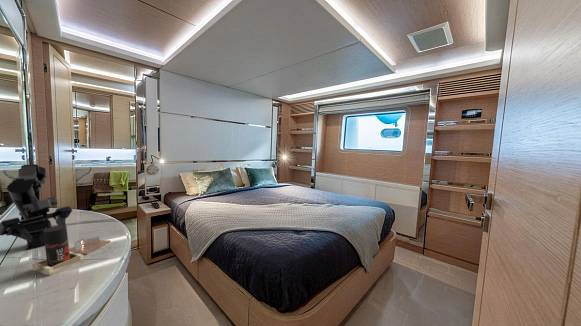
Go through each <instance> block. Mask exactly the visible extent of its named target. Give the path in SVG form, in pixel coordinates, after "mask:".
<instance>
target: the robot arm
mask: <svg viewBox="0 0 581 326" xmlns="http://www.w3.org/2000/svg"><path fill="white" fill-rule="evenodd" d="M47 173H48V172H47V169H46V168H45V167H42V166H40V165H39V164H36V163H35V164H34V163H31V164H23V165H22V164H21V167H20V168H18V177H14V178H12V181H11V182H9V184H8V185H7V186H6V190H7V192H8V194H9V195H10V198H11V201H12V202H13V204H14V205H15V207H16V208H17V210H18V211H19V213H18V215H19V217H20V218H19V217H13V218H9V219H5V220H4V219H3V220H1V221H0V236H7V237H8V236H13V237H17V238H19V239H22V240H25V241H26V245H25V250H31V249H35V248H39V247H43V246H44V247H45V242H44V233H43V231H44V230H45V229H47V228H50V227H53V226H52V222H51V220H50V219H54V220H55V223H56V226H61V225H65V226H66V227H67V225H66V219H68V218H69V217H70V215H71V214H72V211H73V209H72V207H71V206H69V205H66V206H62V207H57V208H56V209H55V211H54V212H50V209H51V208H54V207H53V206H57V205H58V201H57V199H56V198H55V197H54V196H52V197H48V198H47V199H43V200H42V195H41V191H42V189H41V188H42V187H43V185H45V183H46V178H48V174H47ZM49 212H50V213H49Z"/></svg>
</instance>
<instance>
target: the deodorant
mask: <svg viewBox="0 0 581 326" xmlns="http://www.w3.org/2000/svg"><path fill="white" fill-rule="evenodd" d="M43 233H44V242H45V245H44V249H45V256H46V258H45V259H47V266H49V267H53V266H55V265H57V264H60V263H62V262H65V261H67V260H69V259H70V254H69V249H70V247H69V237H68V227H67V225H66V226H65V225H61V226H58V225H55V226H52V227H50V228H47V229H45V230H44V231H43Z"/></svg>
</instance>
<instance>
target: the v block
mask: <svg viewBox="0 0 581 326" xmlns="http://www.w3.org/2000/svg"><path fill="white" fill-rule="evenodd" d="M110 243H111V240H109V239H108V240H107V239H106V240H105V239H100V235H95V236H92V237H85V238H80V239H78V240H75V241H74V244H73V245H74V246H73V247H70V248H69V251H70V252H74V253H78V254H82V255H89V254H91V253H94V252H95V251H96V250H98V249H100V248H102V247H105V246H106V245H109V244H110Z"/></svg>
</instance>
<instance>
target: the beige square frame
mask: <svg viewBox="0 0 581 326" xmlns="http://www.w3.org/2000/svg"><path fill="white" fill-rule="evenodd" d="M69 254H70V259H69V260H67V261H65V262H62V263H60V264H57V265H55V266H53V267H49V266H47V258H44V259H42V260H39V261H36V262H34V263H32V264H31V267H32V271H34V272H37V273H40V274H43V275H46V276H49V277H51V276H53V275H54V274H56V273H60V272H61V270H62V271H64V270H66V269H68V268H71V267H72V266H74V265H76V264H79V263H81V262H84V260H85V259H84V258H85V257H84V254H78V253H74V252H70V251H69Z"/></svg>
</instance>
